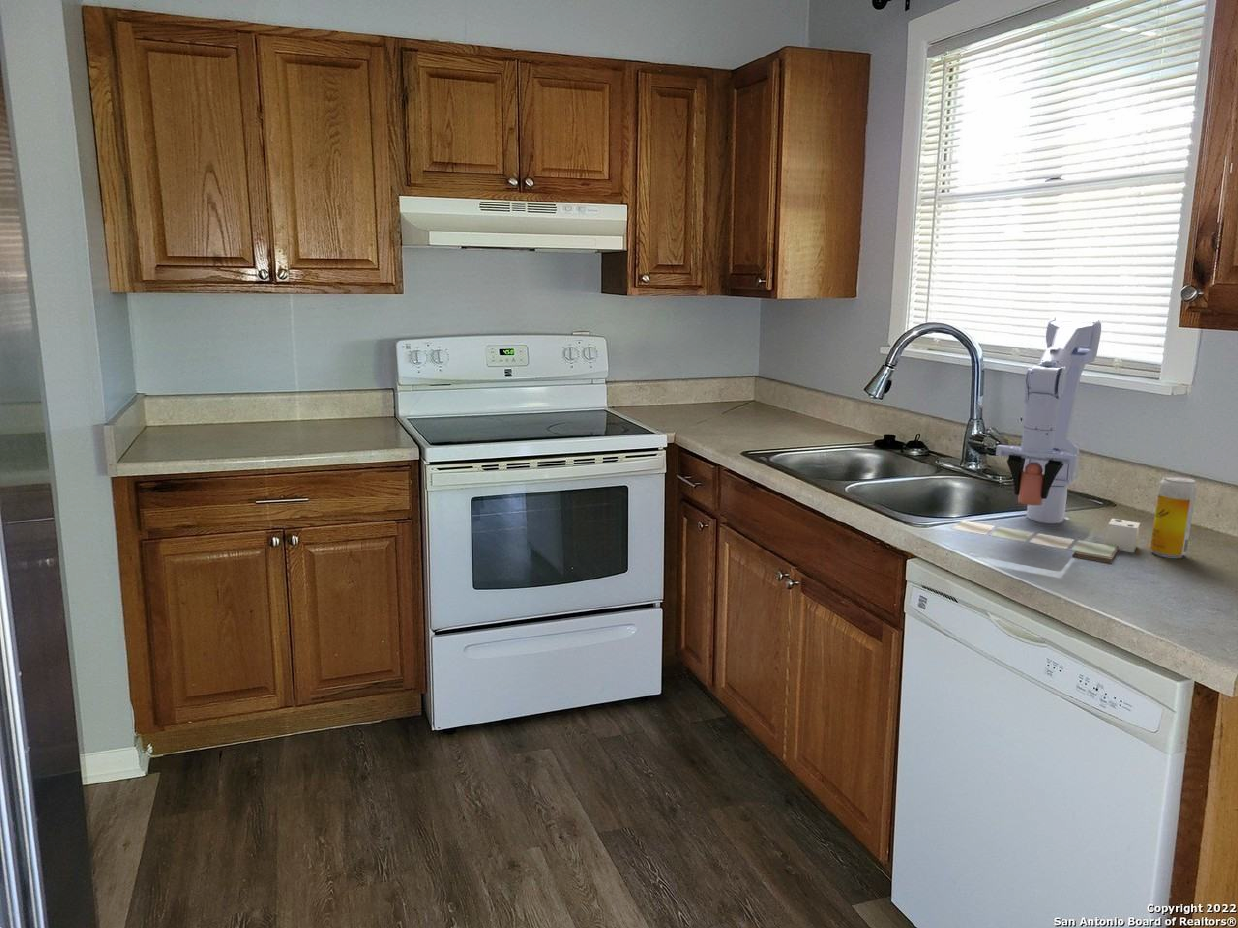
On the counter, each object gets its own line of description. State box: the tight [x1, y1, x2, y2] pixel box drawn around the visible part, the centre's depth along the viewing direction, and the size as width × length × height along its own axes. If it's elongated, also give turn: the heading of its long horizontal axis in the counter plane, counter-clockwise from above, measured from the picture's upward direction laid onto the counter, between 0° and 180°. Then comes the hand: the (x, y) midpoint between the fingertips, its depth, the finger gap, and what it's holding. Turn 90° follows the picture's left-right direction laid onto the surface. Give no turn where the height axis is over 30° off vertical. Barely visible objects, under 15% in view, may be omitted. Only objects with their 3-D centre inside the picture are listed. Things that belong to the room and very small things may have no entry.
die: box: [1104, 518, 1141, 553], centre depth 185 cm, size 5×5×5 cm
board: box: [950, 519, 1120, 564], centre depth 186 cm, size 10×30×1 cm, turn 55°
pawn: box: [1017, 462, 1045, 506], centre depth 185 cm, size 4×4×8 cm
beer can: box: [1149, 475, 1198, 559], centre depth 180 cm, size 6×6×15 cm
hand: (1030, 495), depth 185 cm, fingers closed on pawn, 4 cm apart
